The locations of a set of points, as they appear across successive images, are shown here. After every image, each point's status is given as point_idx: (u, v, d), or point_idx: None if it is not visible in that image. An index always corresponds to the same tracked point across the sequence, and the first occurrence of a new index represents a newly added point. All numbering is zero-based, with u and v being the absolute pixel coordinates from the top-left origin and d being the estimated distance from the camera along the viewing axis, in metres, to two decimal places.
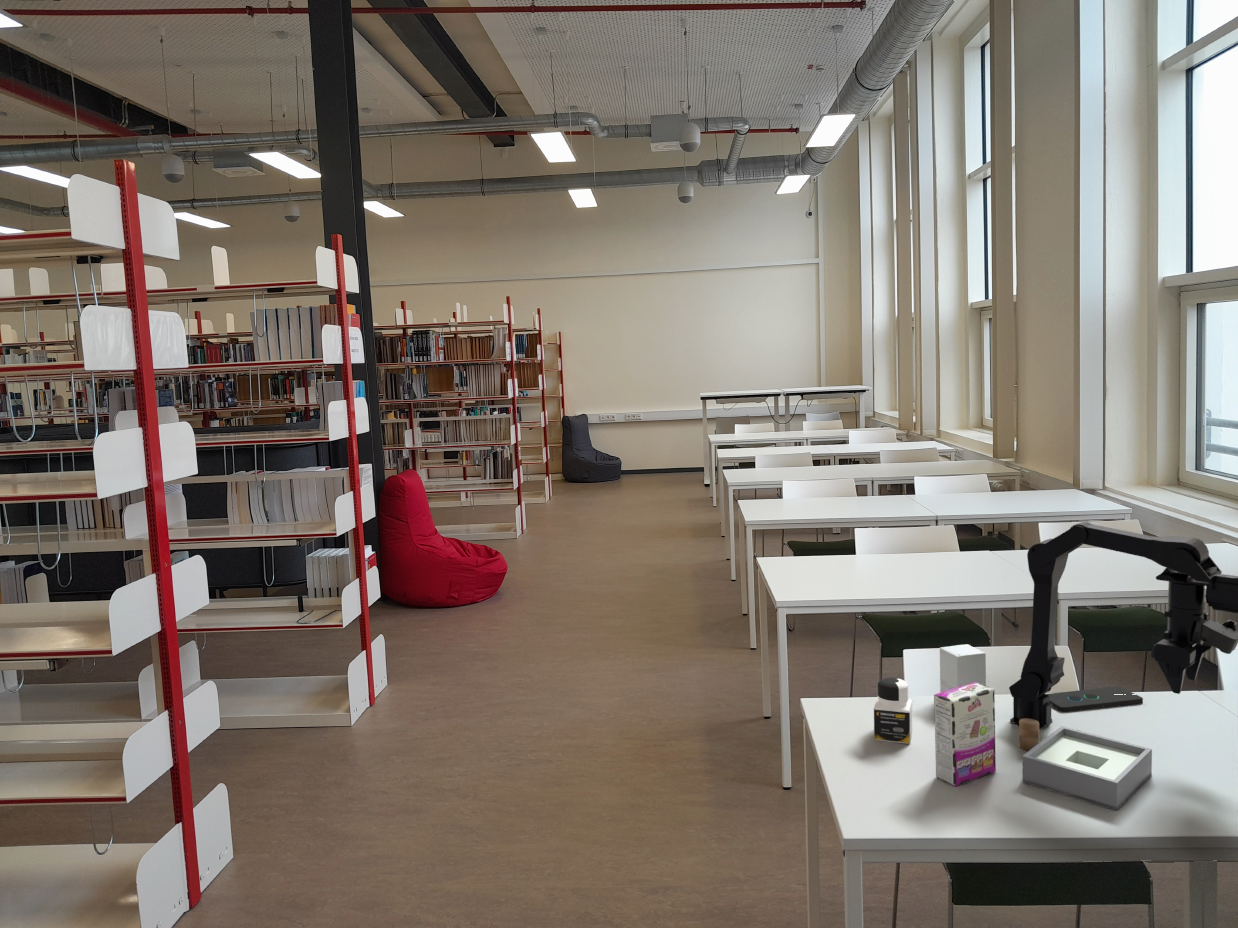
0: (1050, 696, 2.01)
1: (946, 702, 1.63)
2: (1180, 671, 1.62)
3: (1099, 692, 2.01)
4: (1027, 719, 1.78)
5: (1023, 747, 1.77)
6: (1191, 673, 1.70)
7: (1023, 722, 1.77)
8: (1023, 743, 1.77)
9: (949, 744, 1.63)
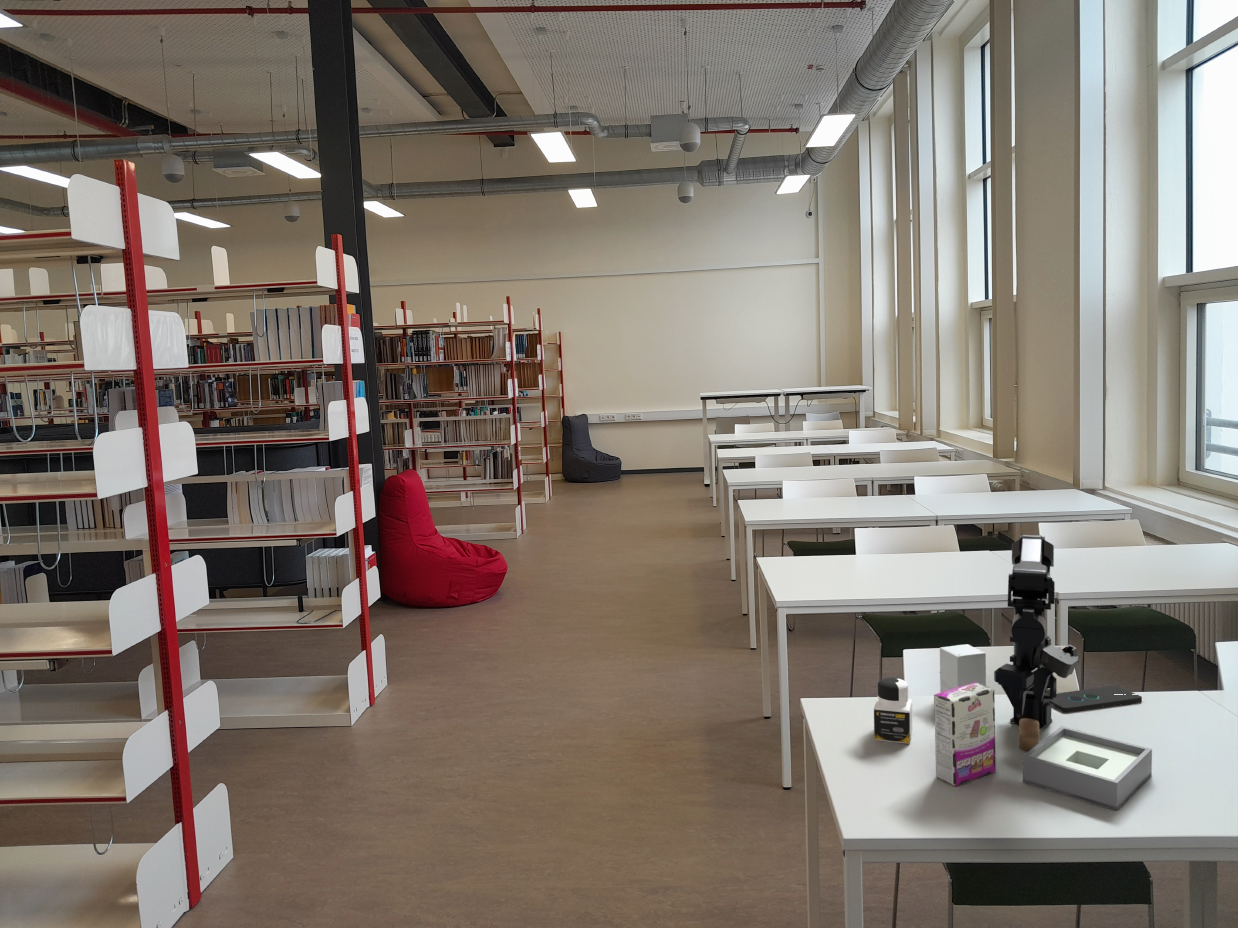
0: None
1: (946, 702, 1.63)
2: (1021, 694, 1.71)
3: (1098, 692, 2.02)
4: (1027, 719, 1.78)
5: (1023, 747, 1.77)
6: (1038, 694, 1.80)
7: (1023, 722, 1.77)
8: (1023, 743, 1.77)
9: (949, 744, 1.63)
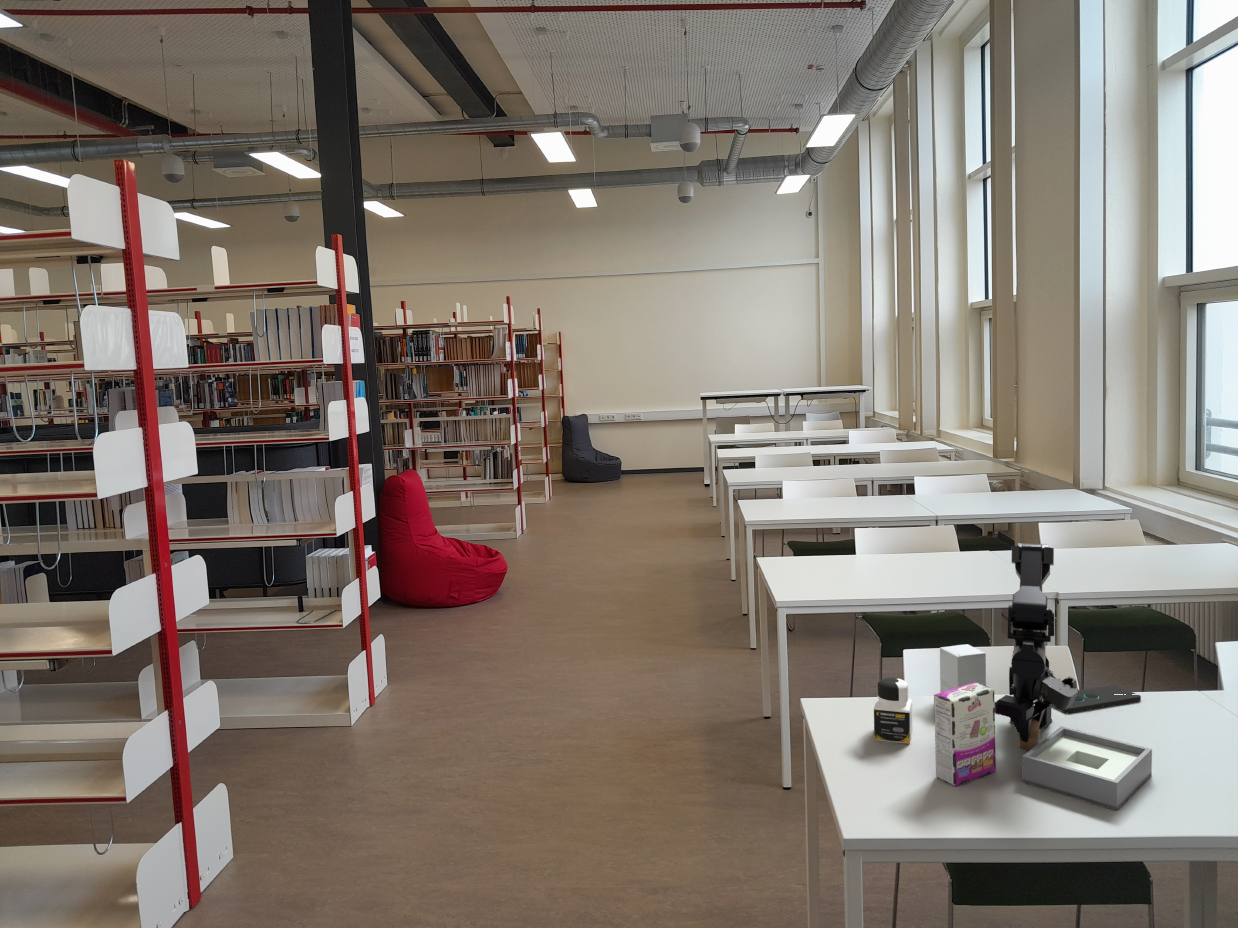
0: None
1: (946, 702, 1.63)
2: (1026, 722, 1.74)
3: (1097, 692, 2.02)
4: None
5: (1023, 747, 1.77)
6: None
7: None
8: (1023, 743, 1.77)
9: (949, 745, 1.63)
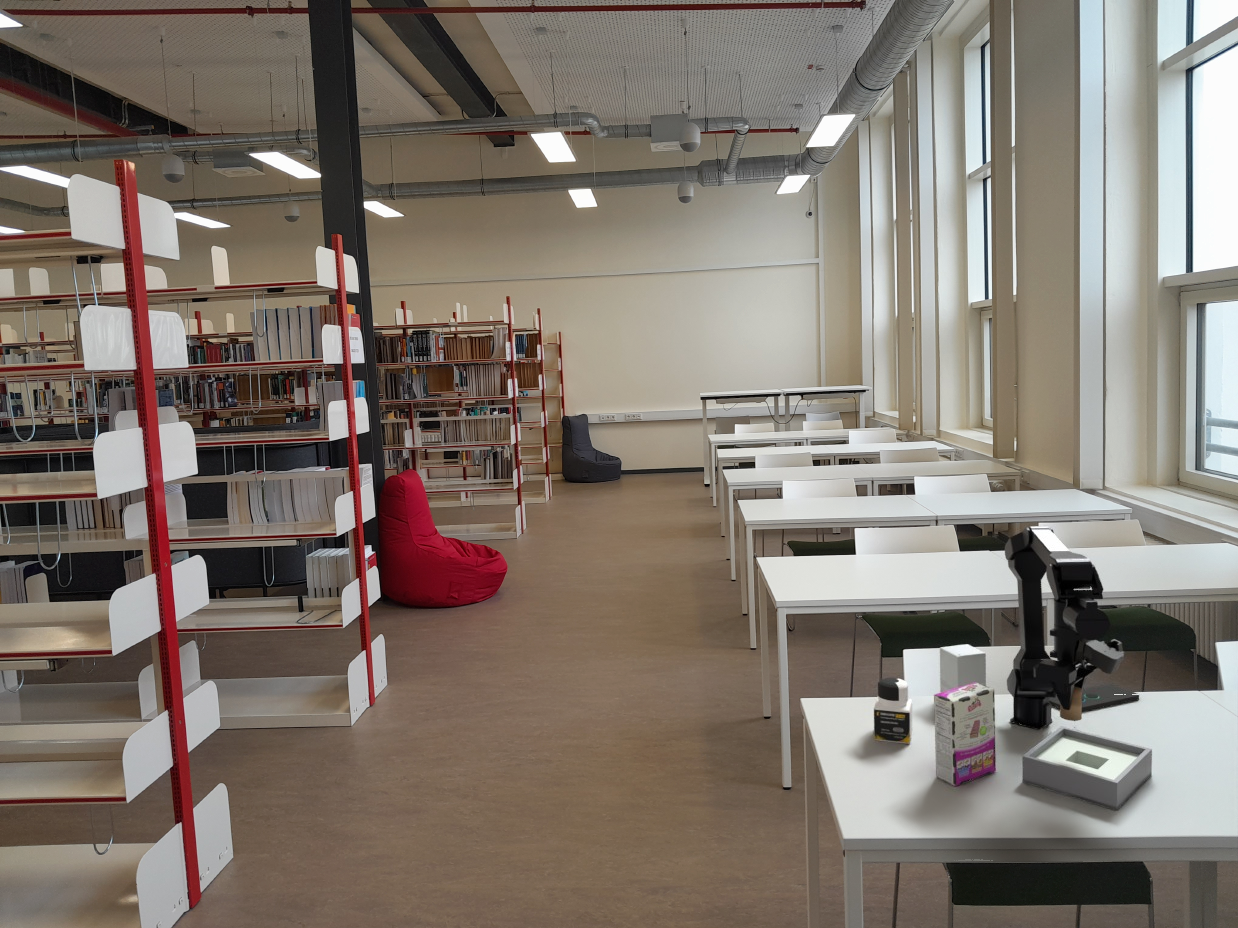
0: (1053, 698, 1.99)
1: (946, 702, 1.63)
2: (1068, 688, 1.62)
3: (1096, 691, 2.02)
4: None
5: (1064, 715, 1.65)
6: None
7: None
8: (1064, 711, 1.65)
9: (949, 744, 1.63)
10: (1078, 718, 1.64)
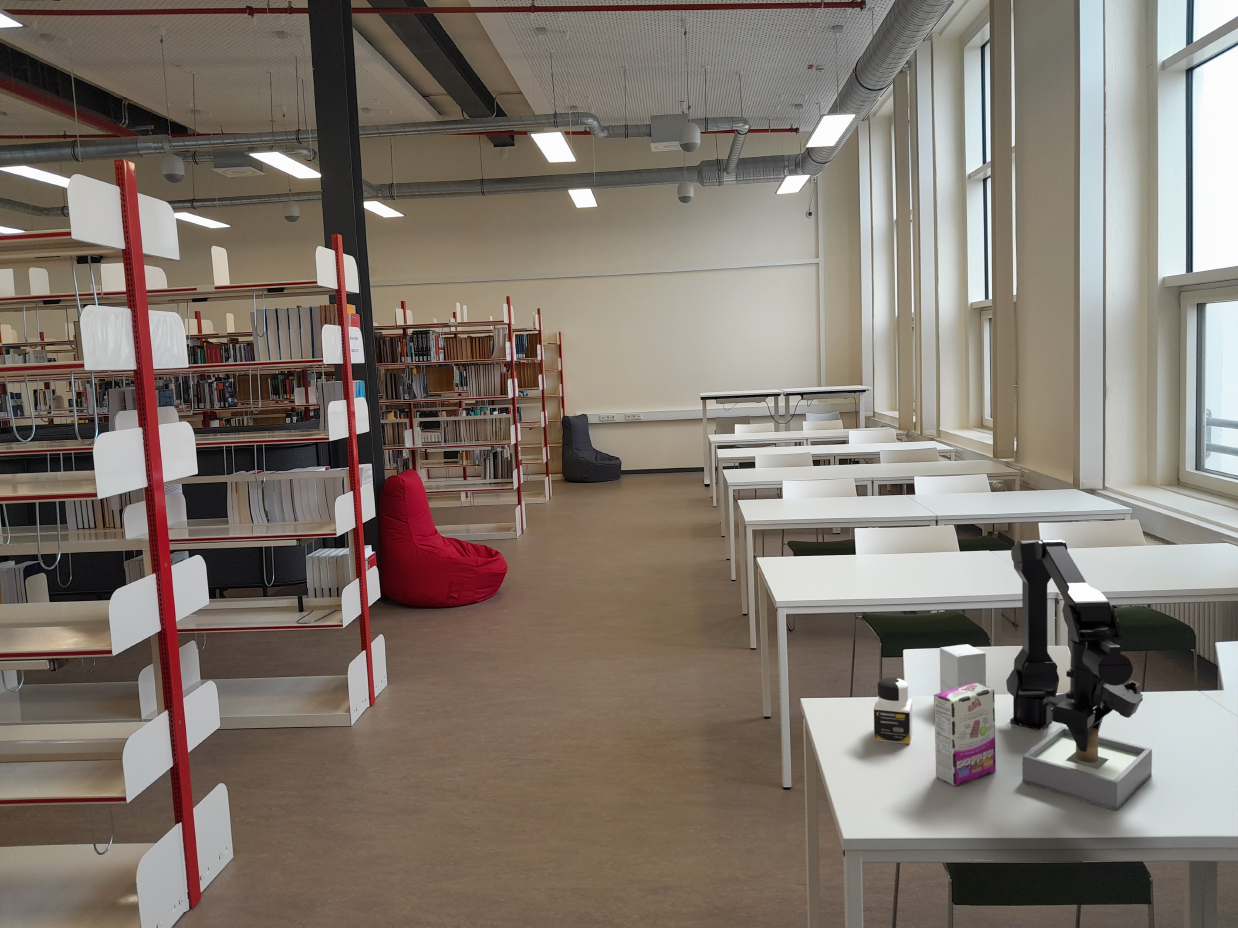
0: (1054, 699, 1.99)
1: (946, 702, 1.63)
2: (1085, 730, 1.60)
3: None
4: None
5: (1081, 757, 1.63)
6: None
7: None
8: (1080, 752, 1.63)
9: (949, 744, 1.63)
10: (1095, 760, 1.62)
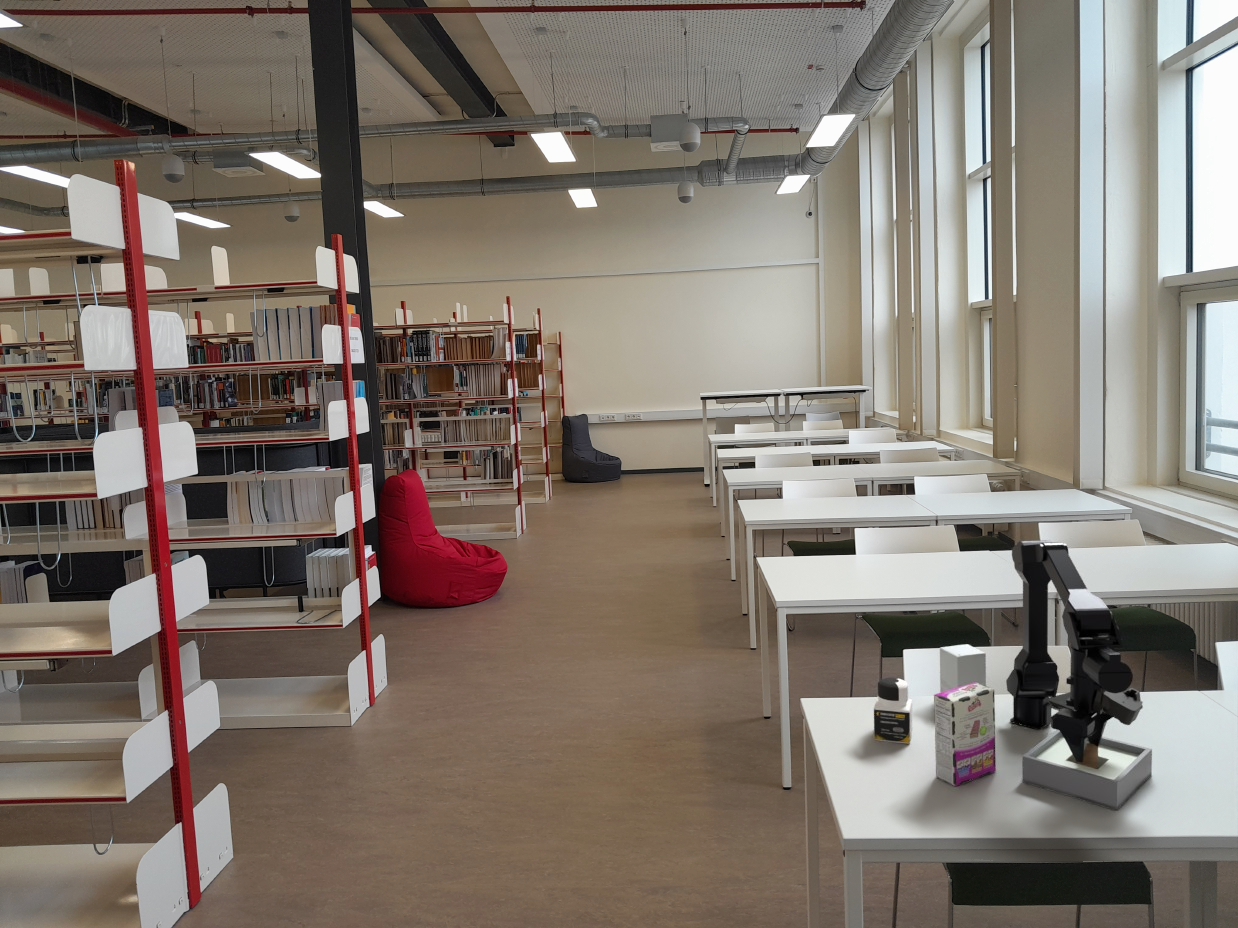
0: (1055, 699, 1.99)
1: (946, 702, 1.63)
2: (1082, 740, 1.59)
3: None
4: None
5: None
6: (1094, 742, 1.66)
7: None
8: None
9: (949, 744, 1.63)
10: None
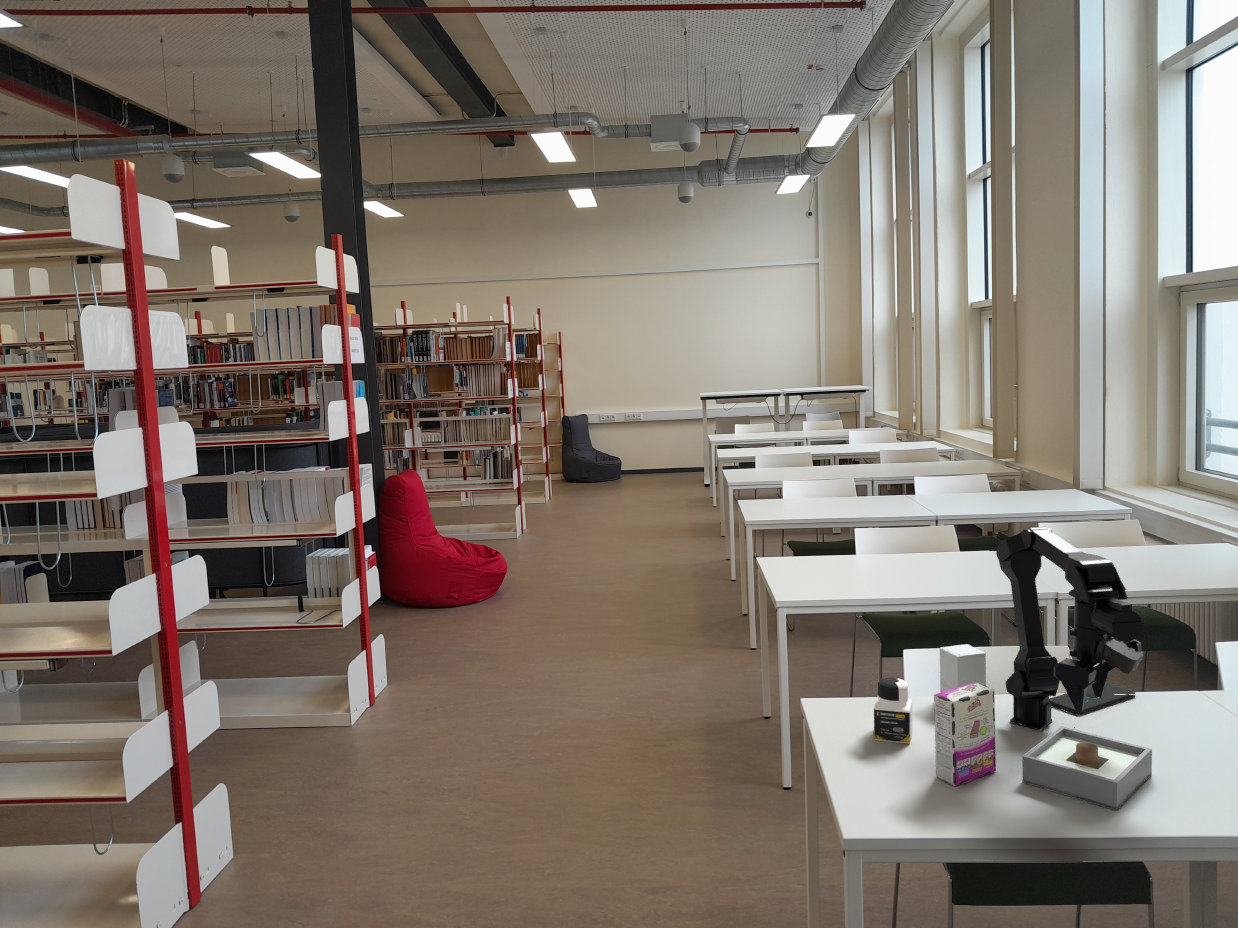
0: (1057, 700, 1.98)
1: (946, 702, 1.63)
2: (1081, 690, 1.64)
3: None
4: (1084, 743, 1.65)
5: None
6: (1098, 690, 1.72)
7: (1080, 747, 1.63)
8: None
9: (949, 744, 1.63)
10: None
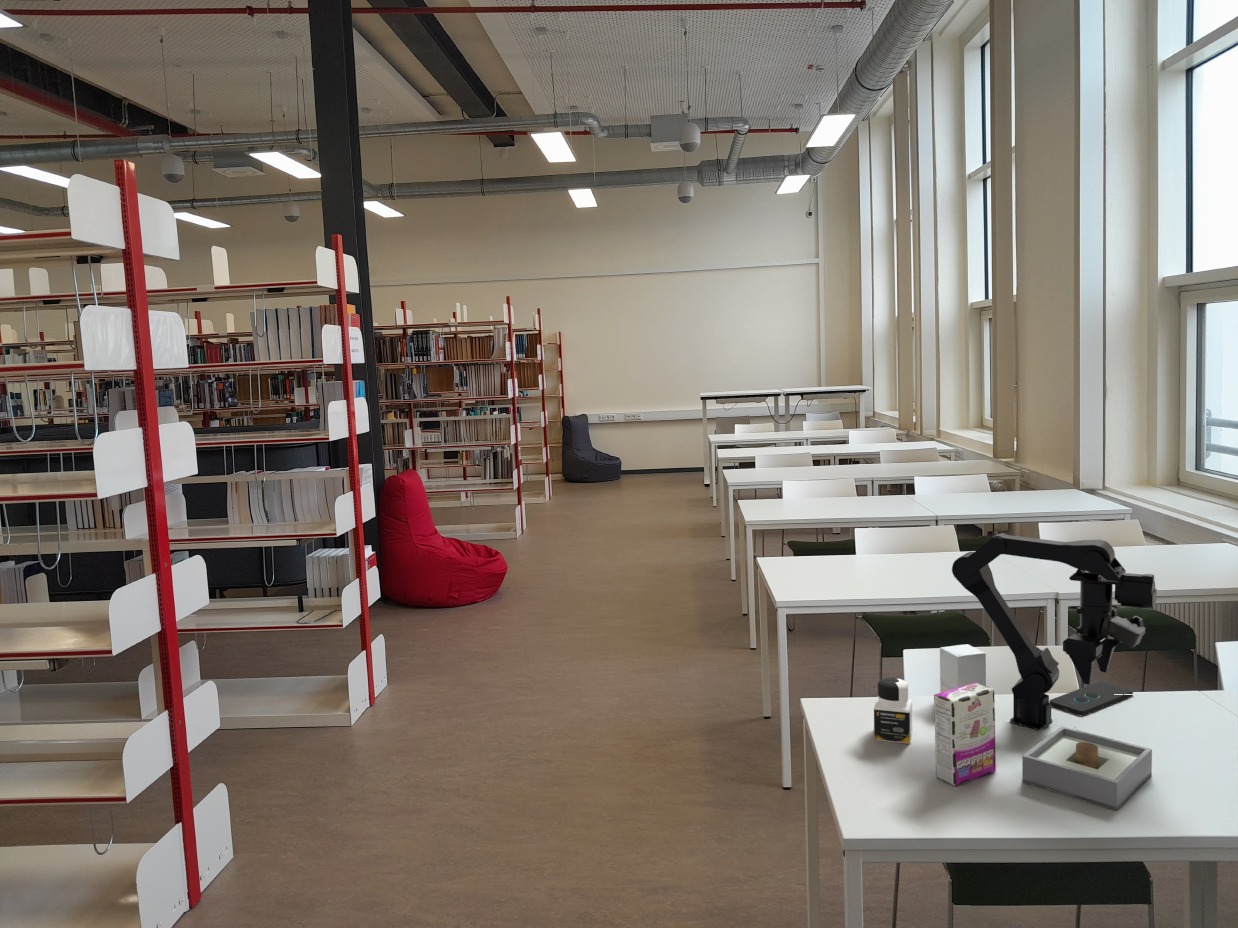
0: (1059, 701, 1.98)
1: (946, 702, 1.63)
2: (1089, 664, 1.76)
3: (1093, 690, 2.03)
4: (1084, 743, 1.65)
5: None
6: (1103, 666, 1.84)
7: (1080, 747, 1.63)
8: None
9: (949, 744, 1.63)
10: None
